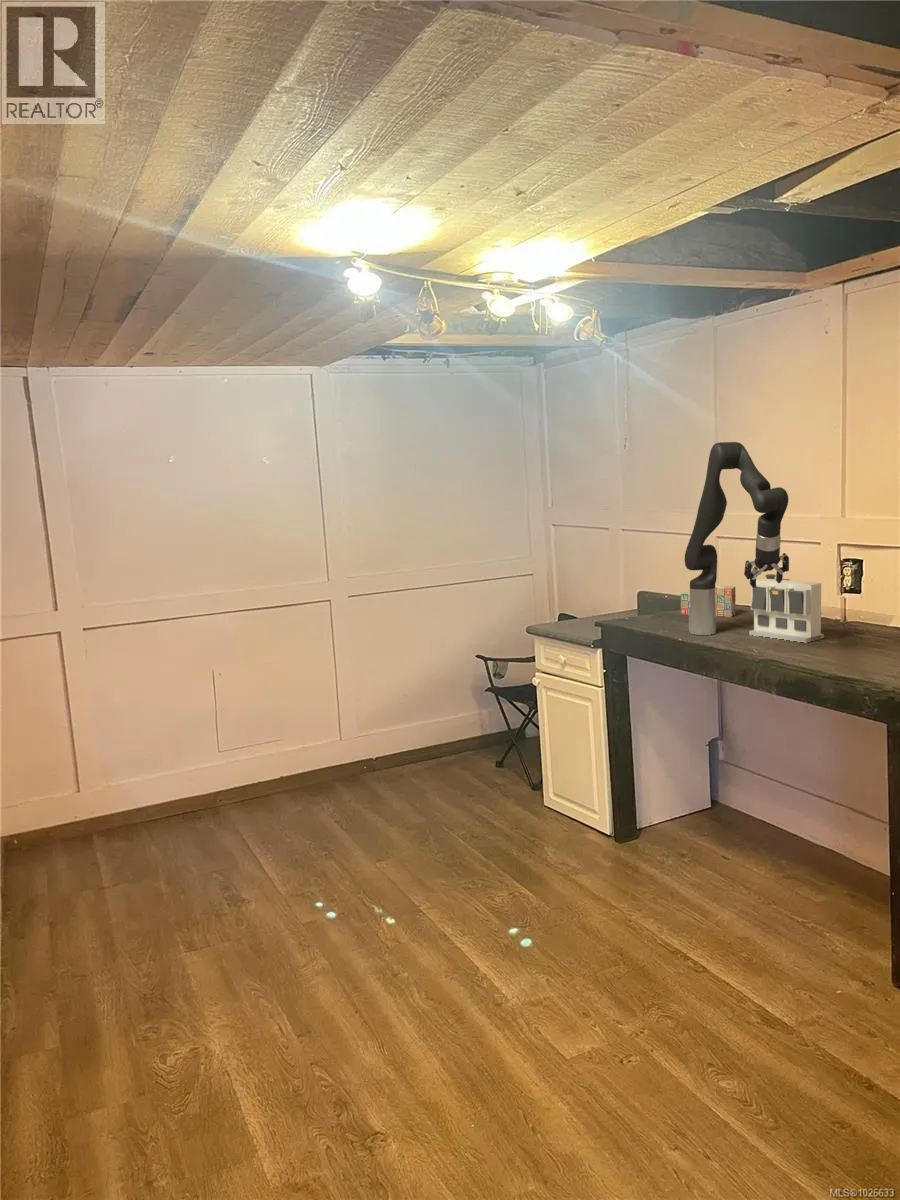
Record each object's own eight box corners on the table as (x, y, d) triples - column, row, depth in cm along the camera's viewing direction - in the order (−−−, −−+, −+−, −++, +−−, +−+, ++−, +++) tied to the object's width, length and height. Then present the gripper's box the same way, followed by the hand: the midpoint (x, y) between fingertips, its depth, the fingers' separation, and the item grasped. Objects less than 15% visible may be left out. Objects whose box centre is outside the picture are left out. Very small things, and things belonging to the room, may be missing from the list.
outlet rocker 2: (793, 611, 317) (790, 590, 315) (806, 612, 313) (803, 591, 311) (790, 612, 316) (787, 591, 314) (803, 614, 312) (800, 592, 310)
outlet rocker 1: (774, 609, 323) (771, 588, 321) (787, 610, 319) (784, 589, 317) (771, 610, 322) (768, 590, 320) (784, 612, 318) (781, 591, 316)
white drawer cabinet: (767, 630, 337) (767, 577, 334) (823, 638, 318) (824, 582, 315) (749, 635, 330) (749, 581, 327) (805, 643, 312) (806, 586, 309)
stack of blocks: (680, 615, 378) (680, 586, 376) (684, 613, 384) (684, 584, 382) (731, 617, 367) (731, 587, 365) (735, 615, 372) (735, 585, 371)
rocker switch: (753, 608, 328) (757, 587, 328) (765, 610, 324) (768, 588, 324) (751, 608, 327) (754, 586, 327) (763, 609, 323) (766, 587, 323)
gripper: (784, 533, 296) (781, 574, 305) (742, 542, 296) (740, 582, 305) (794, 545, 290) (791, 586, 299) (751, 554, 290) (749, 594, 299)
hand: (765, 584), depth 302 cm, fingers open, 8 cm apart
